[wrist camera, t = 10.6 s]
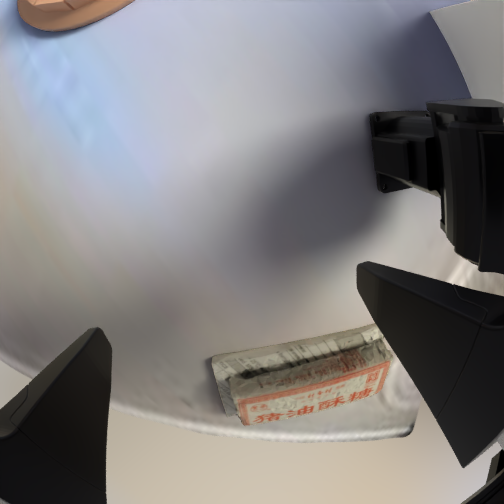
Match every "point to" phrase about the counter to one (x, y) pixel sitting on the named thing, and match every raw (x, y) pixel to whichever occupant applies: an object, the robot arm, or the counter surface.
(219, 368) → the packaged product
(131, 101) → the counter surface
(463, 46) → the milk
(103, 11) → the holder
